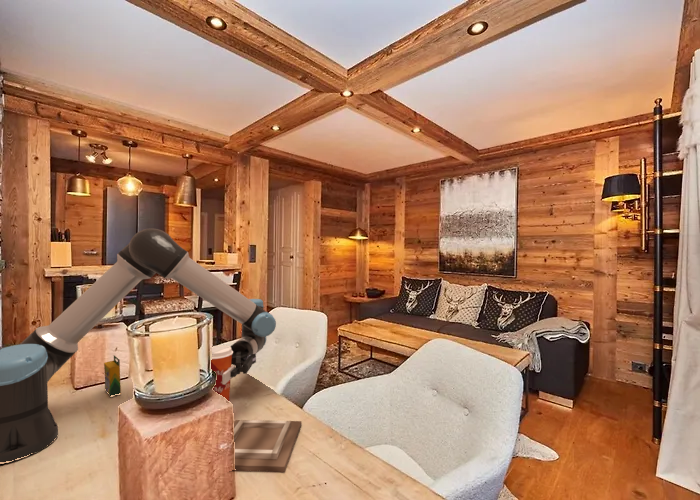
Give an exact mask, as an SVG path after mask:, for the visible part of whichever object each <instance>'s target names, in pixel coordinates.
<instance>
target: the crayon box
mask: <svg viewBox="0 0 700 500" xmlns="http://www.w3.org/2000/svg"><path fill="white" fill-rule="evenodd" d="M120 363H121V362H120V359H119V358H118V357H117V356H116V355H113V360H111V361H107V362H106V361H105V362H103V366H104V367H103V370H104V390H105V389H106V391H107V392H108V393H109V394H110V396H111V395H115V394H119V393H121V394H122V387H121V364H120ZM106 391H105V392H106ZM107 392H106V393H107ZM108 393H107V394H108ZM110 396H109V397H110Z"/></svg>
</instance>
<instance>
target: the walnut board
mask: <svg viewBox="0 0 700 500" xmlns="http://www.w3.org/2000/svg"><path fill="white" fill-rule="evenodd" d="M233 422H234V442H235V469H236V472H262V473H263V472H264V473H265V472H267V473H285V472H286V470H287V467H288V464H289V462H290V460H291V459H290V458H291V456H292V454H293V450H294V447H295V445H296V442H297V439H298V436H299V434H300V430H301V429H302V421H300V420H270V419H269V420H265V419H264V420H262V419H235V420H234V421H233ZM300 428H301V429H300Z"/></svg>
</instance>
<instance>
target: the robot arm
mask: <svg viewBox="0 0 700 500" xmlns="http://www.w3.org/2000/svg"><path fill="white" fill-rule="evenodd" d="M116 255H117V256H116V257H117V258H116V259H117V261H116V262H115V263H114V264H113V265H111V267H110V268H108V270H107V271H105V272H104V273H103V274H102V275H101V276H100V277H99V278H97V280H96V281H95V282H94V283H93V284H91V285H90V286H89V287H88V288H87V289H86V290H85V291H84V292H83V293H82V294H81V295H80V296H78V298H77V299H75V300H74V301H73V302H72V303H71V304H70V305H69V306H68V307H67V308H66V309H64V311H63V312H62V313H60V314H59V315H58V316H57V317H56V318H55V319H54V320H53V321H51V323H50V324H48V325H43V326H38V327H37V328H35V330H34V331H33V332H31V333H30V334H29V335H28V336H27V337H26V338H25V339H24V340H23V341H22V342H20V343H19V344H16V345H12V346H6V347H3V348H1V349H0V462H6V461H12V460H15V459H17V458H21V457H24V456H27V455H29V454H31V453H34V452H37V451H39V450H41V449H42V448H44V447H46V446H47V445H49V444H50V443H51V442H52V441H54V439H55V438H56V437H57V435H58V436H59V426H58V424H57V422H56V421H55V418H54V415H53V414H52V412H51V410H50V408H49V404H48V403H49V401H48V400H49V397H48V396H49V394H48V392H49V389H48V386H49V385H48V382H49V381H50V380H51V378H52V377H53V376H54V375H55V374H56V373H57V372H58V371H60V369H61V368H62V367H63V366H64V365H65V364H66V363H67V362H68V361H69V360H70V359H71V358H72V357H73V356H74V355H75V354H76V353H77V352H78V351H79V342H80V341H81V340H82V339H83V338H84V337H85V336H86V335H87V334H89V332H90V331H92V329H93V328H94V327H95V326H97V324H99V322H101V321H102V319H103V318H105V317H106V316H107V315H108V314H109V313H110V312H111V311H112V310H113V309H114V308H115V307H116V305H117V304H119V303H120V302H121V301H122V300H123V299H124V298H125V297H126V296H127V295H128V294H129V293H130V292H131V291H132V290H133V289H134V288H135V287H136V286H137V285H138V284H139V283H140V282H141V281H142V280H148V279H152V278H153V277H154V275H156V274H157V275H159V276H160V277H162V278H163V279H166V280H167V279H172V280H173V281H175V282H177V283H178V284H180V285H181V286H183V287H184V288H186V289H187V290H189V291H191V292H192V293H194V294H195V295H196V296H198V297H200V298H201V299H203V300H204V301H206V302H207V303H208V304H211V305H212V306H213V307H215V308H216V309H218V310H219V311H221V312H222V313H224V314H225V315H227V316H229V317H230V318H231V319H233V320H235V321H236V322H237V323H239V324H241V338H240V339H237V340H236V342H234V343H233V344H232V345H230V347H231V349H232V351H233V354H232V360H231V367H230V368H229V369H228V370H227V371H226V372H224V373H223V374H222V384H226V383H227V382H228V381H229V380H230V379H231V380H232V378H235V377H236V376H238V375H241V373H242V374H247V373H248V372H249V371H250V370H251V367H252V366H253V365H254V364H255V363H257V354H258V353H259V352H260V351H261V350H262V349H264V346H265V345H266V343H267V337H269V336H270V335H272V334H273V333H274V332H275V329H276V328H277V322H276V318H275V317H274V315H273V314H272V313H270V312H268V311H267V310H265V309H264V308H265V306H264V301H263V300H262V299H261V298H260V299H259V298H247V296H245V295H244V294H242V293H241V292H239V291H238V290H236V289H235V288H234V287H233V286H230V285H229V284H227V283H226V282H225V281H224V280H223V279H221V278H219V277H218V276H217V275H215V274H213V273H212V272H211V271H209V270H208V269H207V268H205V267H204V266H203V265H201V264H200V263H197V262H196V261H195V260H194V259H192V258H191V257H190V254H189V251H187V250H185V249H184V248H183V247H182V246H181V245H179V244H178V243H177V242H176V241H175V240H174V239H173V238H172V237H171V235H169V234H168V233H167V232H165V231H164V230H161V229H158V228H152V227H151V228H145V229H142V230H140V231H138V232H136V233H135V234H134V235H133V236H132V237H131V239H130V241H129V243H128V244H126V245H125V246H124V247H123V248H122V249H121V250H120V251H119V252H118V253H117V254H116ZM231 380H230V381H231ZM57 438H58V437H57ZM54 442H55V441H54ZM50 445H51V444H50ZM50 445H49V446H50ZM47 447H48V446H47ZM47 447H46V448H47ZM44 449H45V448H44ZM41 451H42V450H41ZM39 452H40V451H39ZM37 453H38V452H37Z"/></svg>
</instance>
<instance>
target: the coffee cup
mask: <svg viewBox="0 0 700 500" xmlns="http://www.w3.org/2000/svg"><path fill="white" fill-rule="evenodd" d="M230 346H231V345H230ZM230 346H229V345H227V344H226V345H225V344H221V345H220V344H219V345H213V347H212V360H211V369H212V370H213V371H215V372H216V375H217V380H216V385H215V386H214V388H213V390H214V391H215V392H217V393H218V394H220V395H222V396H223V397H225V398H226V399H227V400H228V401H229V402H230V394H231V380H232V378H231V379H230V380H229V381H228V382H227V383H226V384H222V374H223V373H224V372H226V371H227V370H228V369H229V368H230V367H231V366H232V365H231V360H232V354H233V351H232V349H231V347H230Z"/></svg>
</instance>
